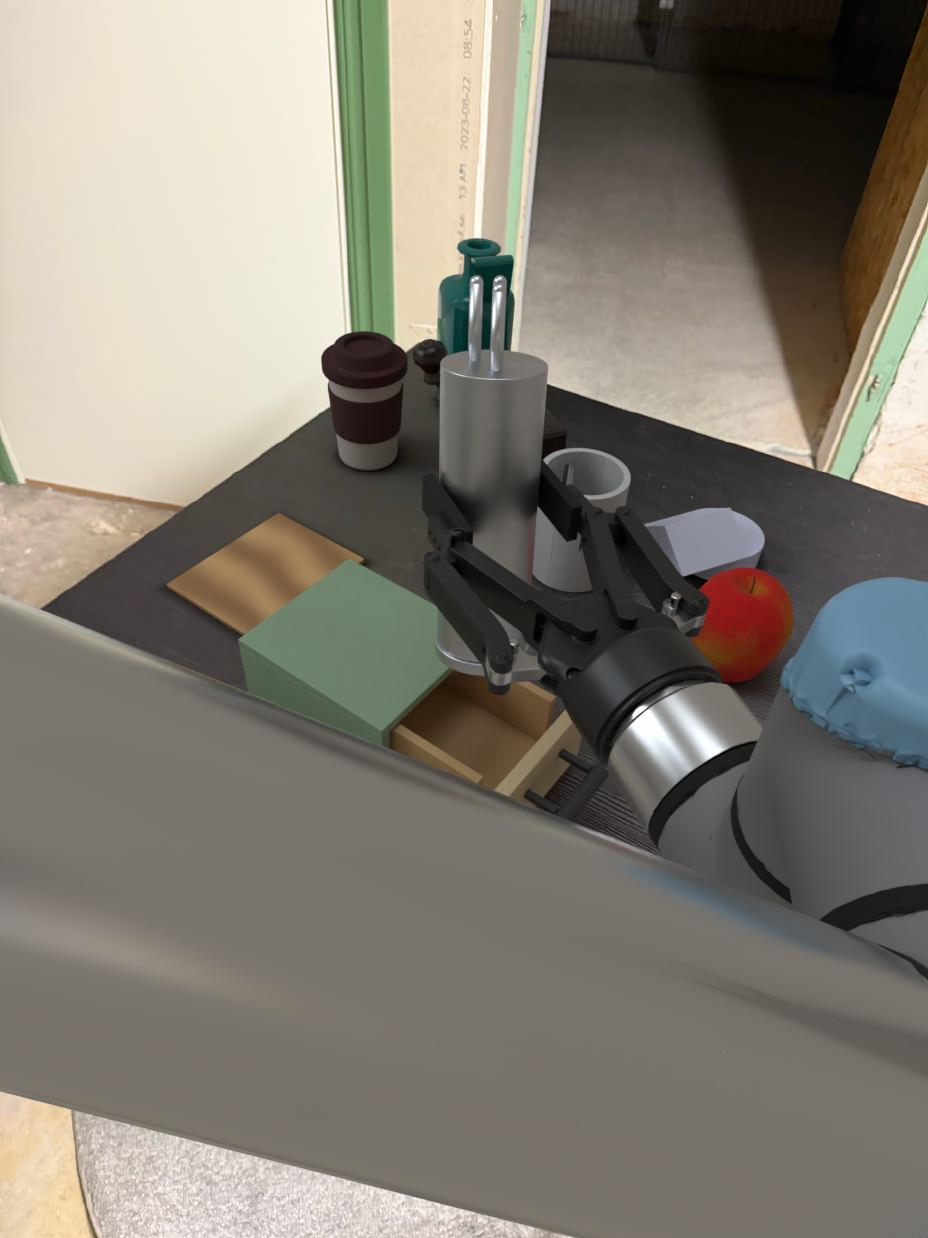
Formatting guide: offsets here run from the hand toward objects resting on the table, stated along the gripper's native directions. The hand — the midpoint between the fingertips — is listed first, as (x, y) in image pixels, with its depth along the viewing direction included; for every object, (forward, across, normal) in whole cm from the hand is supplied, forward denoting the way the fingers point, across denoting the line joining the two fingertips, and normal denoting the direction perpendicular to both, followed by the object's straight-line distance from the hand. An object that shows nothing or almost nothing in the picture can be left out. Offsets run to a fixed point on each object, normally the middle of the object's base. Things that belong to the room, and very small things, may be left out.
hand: (479, 480), depth 58 cm
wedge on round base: (+13, +35, -27) cm, 46 cm away
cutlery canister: (-4, -1, -12) cm, 13 cm away
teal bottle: (+52, +24, -28) cm, 63 cm away
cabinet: (+7, -7, -27) cm, 29 cm away
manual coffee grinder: (+34, +18, -28) cm, 47 cm away
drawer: (-5, 0, -26) cm, 27 cm away
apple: (-2, +27, -27) cm, 39 cm away
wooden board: (+27, -10, -27) cm, 40 cm away
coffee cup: (+45, +7, -28) cm, 54 cm away
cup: (+18, +20, -27) cm, 38 cm away
